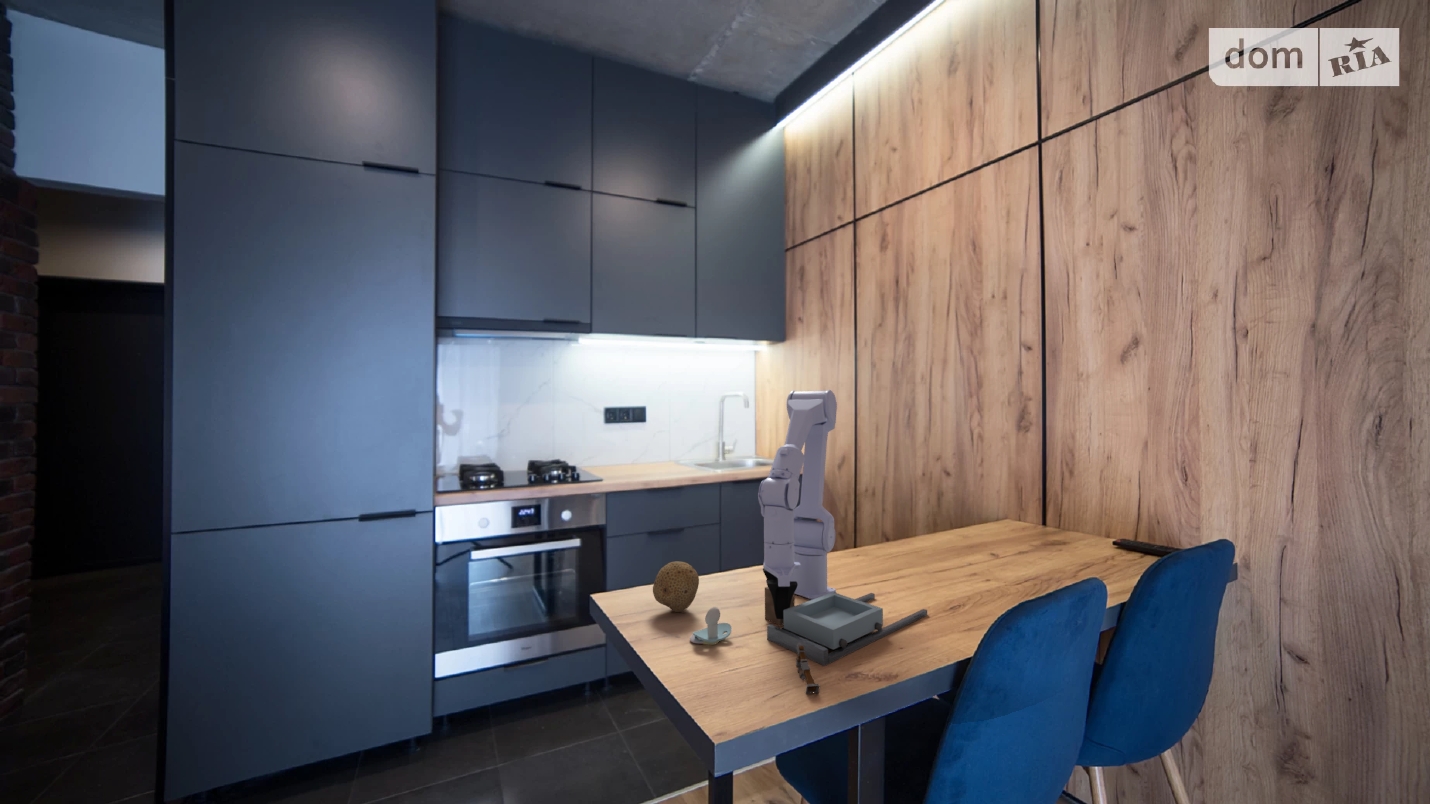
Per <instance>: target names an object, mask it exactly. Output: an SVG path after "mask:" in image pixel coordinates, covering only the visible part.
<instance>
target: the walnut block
mask: <svg viewBox="0 0 1430 804" xmlns="http://www.w3.org/2000/svg"><path fill="white" fill-rule="evenodd" d="M795 599H796V597H795V594H793V597H792V600H791V604H790V608H791V607H794V606H796V605H795ZM764 619H765V620H767V621H769V620H770V621H769V622H772V623H773V624H776V625H778V624H779V625H778V626H782V625H784V619H776V616H775V611H774V605H773V599H772V595H771V592H770V590H769V588H768V586H766V587H764Z"/></svg>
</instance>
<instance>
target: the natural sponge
mask: <svg viewBox="0 0 1430 804" xmlns="http://www.w3.org/2000/svg"><path fill="white" fill-rule="evenodd" d="M653 582H654V583H653V586H652V594H653V597H654V599H655V601H657V602H658V603H659V604H660V605H662V606H666V607H668V608H669V609H670V610H671V611H672V612H676V613H682V612H684V611H686V610H687V609H688V608H689V607H690V606H691V605H692V603H693V602H694V600H695V597H696V595H697V593H698V589H699V585H700V578H699V574H698V572H697V571H696V569H695V568H694V567H693V566H692V565H691V564H689V563H687V562H685V561H680V560H679V561H678V560H677V561H675V560H674V561H671V562H668V563H666V564H665V565H664V566H663V567H661V568H660V570H658V573H657V574H656V576H655V580H654V581H653Z"/></svg>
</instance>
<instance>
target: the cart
mask: <svg viewBox="0 0 1430 804" xmlns="http://www.w3.org/2000/svg"><path fill="white" fill-rule="evenodd" d="M856 599H857V598H852V597H849V596H846V595H844V594H840V593H837V592H832V593H829V594H827V595H824V596H821V597H818V598H816V599H813V600H811V599H809V600H808V601H804V602H802V603H800V604H797V605H795V606H794V607H791V608H788V609H785V610H784V624H783V627H784V629H787V630H789V631H791V633H793V634H795V635H797V636H800V637H802V638H804V639H807V640H809V641H811V642H813V643H816V644H818V645H820V646H823V647H825V648H827V649H831V650H834V651H835V650H837V649H839V648H842V647H843V648H845V647H846V646H847V645H848V643H849V644H850V643H852V642H854V641H856V640H858V639H860V638H861V637H864V636H867V635H869V634H871V633H873V632H875V631H881V629H882V628H884V614H883V613H884V608H883V607H879V606H876V605H873V604H871V603H868V602H862V601H859V600H856Z"/></svg>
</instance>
